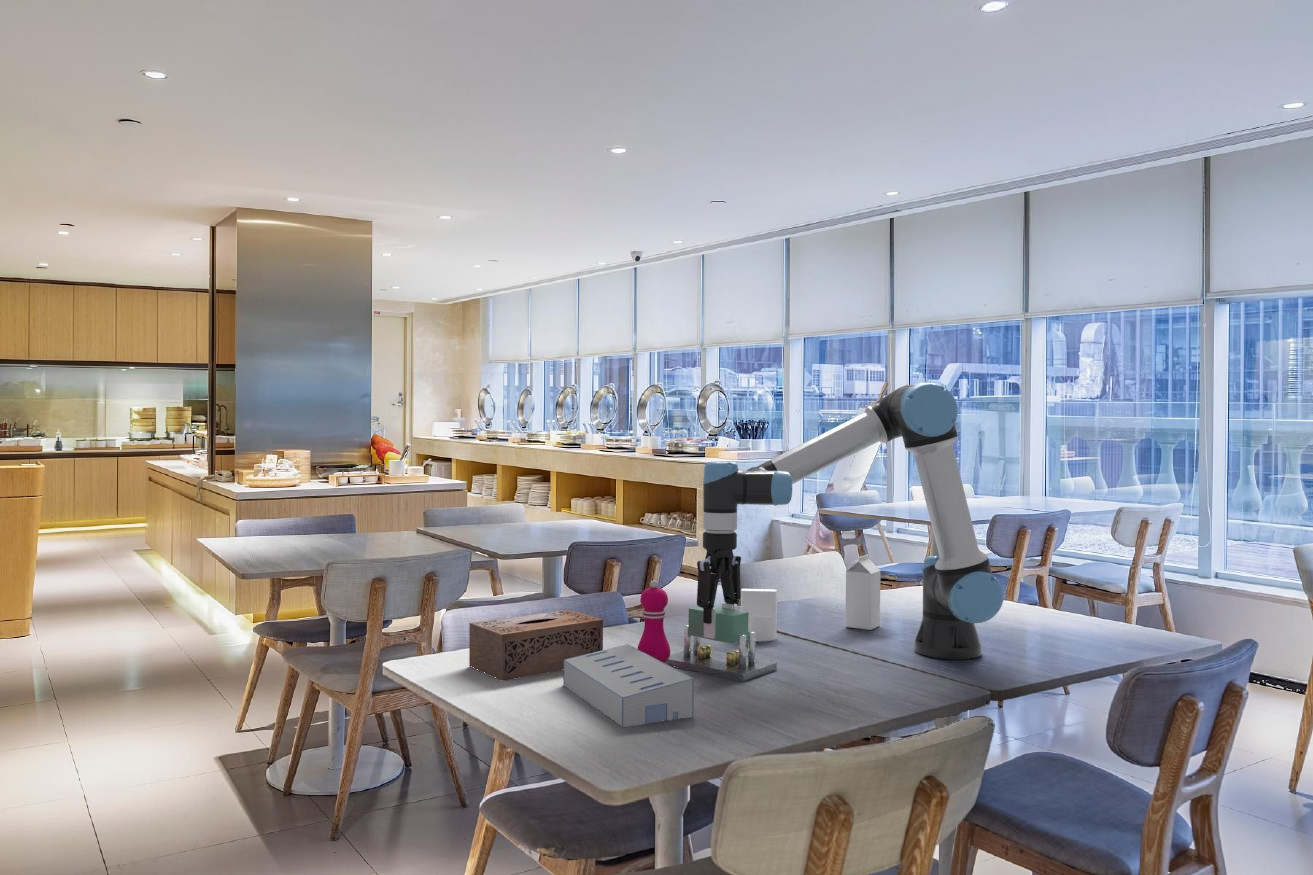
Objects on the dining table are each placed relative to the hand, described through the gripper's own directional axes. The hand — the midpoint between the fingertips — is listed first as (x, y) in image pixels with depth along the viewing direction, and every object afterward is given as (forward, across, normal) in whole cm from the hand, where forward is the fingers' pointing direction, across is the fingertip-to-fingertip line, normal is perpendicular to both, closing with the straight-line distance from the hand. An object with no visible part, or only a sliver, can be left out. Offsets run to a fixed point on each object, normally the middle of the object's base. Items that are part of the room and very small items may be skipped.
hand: (718, 635), depth 214 cm
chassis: (+7, 0, 0) cm, 7 cm away
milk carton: (+7, -60, +4) cm, 61 cm away
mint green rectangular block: (0, 0, 0) cm, 1 cm away
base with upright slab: (+7, -31, -10) cm, 33 cm away
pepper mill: (+7, +13, -8) cm, 17 cm away
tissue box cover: (+8, +25, -32) cm, 41 cm away
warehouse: (+8, +33, +1) cm, 34 cm away
